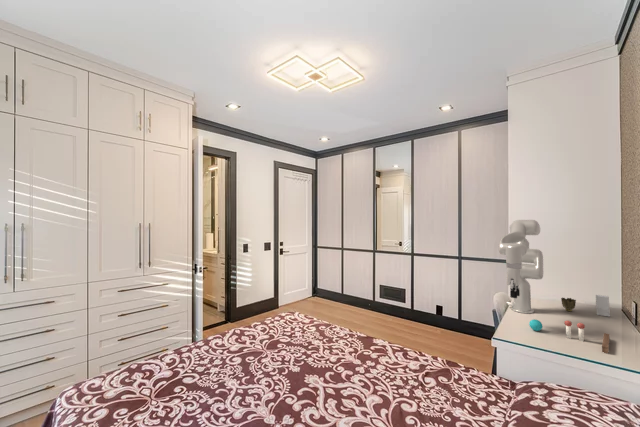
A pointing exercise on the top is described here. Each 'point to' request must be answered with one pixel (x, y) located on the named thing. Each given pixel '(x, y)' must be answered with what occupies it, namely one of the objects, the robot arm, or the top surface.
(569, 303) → the cup
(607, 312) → the skincare box
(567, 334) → the pin
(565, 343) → the top surface
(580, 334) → the pin
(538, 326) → the ball
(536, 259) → the robot arm
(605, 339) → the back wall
